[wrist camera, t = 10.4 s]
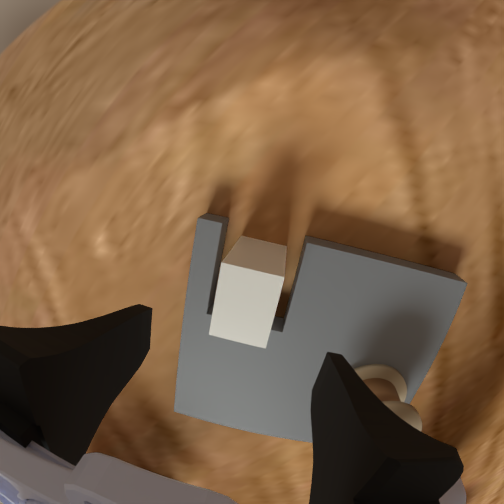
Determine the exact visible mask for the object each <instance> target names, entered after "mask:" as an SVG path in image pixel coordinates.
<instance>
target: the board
mask: <svg viewBox="0 0 504 504" xmlns="http://www.w3.org/2000/svg"><path fill="white" fill-rule="evenodd" d="M228 220H229V218H227V217H223V216H218V215H213V214H209V213H206V214H204V215H202V216H200V217H199V218H198V220H197V226H196V232H195V238H194V245H193V251H192V258H191V265H190V271H189V278H188V286H187V293H186V301H185V308H184V316H183V325H182V333H181V342H180V351H179V361H178V370H177V381H176V392H175V404H174V412H178V413H181V414H184V415H187V416H191V417H194V418H197V419H201V420H205V421H208V422H212V423H216V424H219V425H223V426H227V427H232V428H236V429H240V430H244V431H249V432H254V433H258V434H263V435H269V436H274V437H279V438H285V439H291V440H298V441H304V442H312V443H313V441H312V427H311V411H310V409H311V395H312V388H313V386H314V383H315V381H316V379H317V376H318V374H319V371H320V369H321V366H322V364H323V361H324V359H325V356H326V353H327V352H332V353H337V354H342V355H343V356H344V358H345V359H346V360H347V361H348V363H349V364H350V365H351V366H352V368H353V369H355V368H357V367H360V366H364V365H369V364H384V365H388V366H391V367H393V368H395V369H396V370H398V371H399V372H400V373H401V375H402V376H403V378H404V380H405V383H406V386H407V395H406V399H405V401H404V402H405V403H408V404H410V402H411V400H412V399H413V397H414V395H415V394H416V392H417V390H418V388H419V387H420V385H421V383H422V381H423V379H424V378H425V376H426V374H427V372H428V370H429V368H430V367H431V365H432V363H433V361H434V359H435V357H436V355H437V353H438V351H439V349H440V347H441V345H442V343H443V340H444V338H445V336H446V334H447V332H448V330H449V327H450V325H451V323H452V321H453V318H454V316H455V314H456V311H457V309H458V306H459V304H460V301H461V299H462V296H463V294H464V291H465V289H466V286H467V282H465V281H464V280H463V279H461V278H460V277H459V276H457V275H456V274H454V273H450V272H447V271H443V270H440V269H436V268H432V267H428V266H425V265H421V264H417V263H413V262H410V261H406V260H402V259H398V258H394V257H390V256H387V255H383V254H379V253H375V252H371V251H367V250H363V249H359V248H355V247H351V246H347V245H343V244H339V243H335V242H331V241H327V240H322V239H318V238H314V237H310V236H305V240H304V244H303V248H302V252H301V256H300V259H299V263H298V267H297V271H296V275H295V279H294V282H293V286H292V290H291V293H290V297H289V301H288V304H287V308H286V312H285V315H284V318H280V317H275V316H274V320H273V324H272V327H271V331H270V335H269V338H268V342H267V346H266V349H265V348H261V347H256V346H252V345H248V344H244V343H240V342H236V341H232V340H228V339H224V338H220V337H216V336H212V335H209V330H210V324H211V318H212V313H213V307H214V297H215V291H216V286H217V280H218V274H219V269H220V263H221V258H222V252H223V247H224V242H225V236H226V231H227V226H228Z"/></svg>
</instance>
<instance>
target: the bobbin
mask: <svg viewBox="0 0 504 504" xmlns="http://www.w3.org/2000/svg"><path fill="white" fill-rule="evenodd" d="M354 370H355V372H356V373H357V374H358V375H359V377H360V378H361V379H362V380H363V382H364V383H365V384H366V385H367V386H368V387H369V389H370V390H371V391H372V392H373V393H374V394H375V395H376V396H377V397H378V398H379V399H380V400H381V401H382V402H383V403H384V404H385V405H386V406H387V407H388V408H389V409H390V410H392V411H393V412H394V413H395V414H396V415H398V416H399V417H400V418H401V419H403V420H404V421H406V422H407V423H408V424H410V425H411V426H413V427H414V428H416V429H418V430H419V431H421V430H422V421H421V418H420V416H419V413H418V412H417V410H416V409H415V408H414V407H413V406H412V405H410V404H408V403H405V402H404V401H405V399H406V395H407V386H406V383H405V380H404V378H403V376H402V375H401V373H400V372H399V371H398V370H396V369H395V368H393V367H391V366H388V365H384V364H369V365H364V366H360V367H357V368H355V369H354Z"/></svg>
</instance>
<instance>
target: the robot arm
mask: <svg viewBox="0 0 504 504" xmlns="http://www.w3.org/2000/svg"><path fill="white" fill-rule="evenodd" d="M151 320H152V308H150V307H147V306H144V305H141V304H138V305H134V306H130V307H127V308H124V309H122V310H119V311H116V312H113V313H110V314H107V315H104V316H101V317H97V318H94V319H90V320H87V321H83V322H79V323H75V324H69V325H64V326H56V327H44V328H16V327H6V326H0V501H1V502H2V503H3V504H238V503H237V502H235V501H234V500H232V499H231V498H230V497H228V496H225V495H222V494H220V493H217V492H214V491H211V490H209V489H205V488H201V487H197V486H194V485H190V484H187V483H184V482H180V481H177V480H174V479H171V478H168V477H165V476H162V475H159V474H156V473H153V472H151V471H148V470H145V469H142V468H140V467H137V466H135V465H132V464H130V463H127V462H125V461H122V460H120V459H118V458H115V457H112V456H109V455H105V454H102V453H97V452H95V453H88V454H85V453H86V451H87V449H88V447H89V445H90V443H91V440H92V438H93V436H94V434H95V433H96V431H97V429H98V427H99V425H100V423H101V421H102V419H103V418H104V416H105V414H106V412H107V411H108V409H109V407H110V406H111V404H112V403H113V401H114V400H115V398H116V397H117V396H118V395H119V393H120V392H121V391H122V389H123V388H124V387H125V386H126V384H127V383H128V382H129V380H130V379H131V378H132V376H133V375H134V374H135V372H136V371H137V370H138V368H139V367H140V366H141V364H142V362H143V360H144V359H145V357H146V355H147V353H148V351H149V349H150V336H151ZM310 411H311V427H312V441H313V473H312V484H311V493H310V501H309V504H466V491H465V488H464V486H463V483H462V480H461V478H460V476H461V474H462V472H463V467H464V466H463V464H462V461H461V459H460V456H459V454H458V452H457V449H456V448H454V447H452V446H450V445H447V444H445V443H443V442H440V441H438V440H436V439H434V438H432V437H430V436H428V435H426V434H424V433H423V432H421V431H419V430H418V429H416V428H414V427H413V426H411V425H410V424H408V423H407V422H406V421H404V420H403V419H401V418H400V417H399V416H398V415H396V414H395V413H394V412H393V411H392V410H390V409H389V408H388V407H387V406H386V405H385V404H384V403H383V402H382V401H381V400H380V399H379V398H378V397H377V396H376V395H375V394H374V393H373V392H372V391H371V390H370V389H369V387H368V386H367V385H366V384H365V383H364V382H363V380H362V379H361V378H360V377H359V375H358V374H357V373H356V372H355V370H354V369H353V368H352V366H351V365H350V364H349V363H348V361H347V360H346V359H345V358H344V356H343V355H342V354H337V353H332V352H327V353H326V356H325V359H324V361H323V364H322V366H321V369H320V371H319V374H318V376H317V379H316V381H315V383H314V386H313V388H312V395H311V409H310Z"/></svg>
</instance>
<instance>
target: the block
mask: <svg viewBox="0 0 504 504" xmlns="http://www.w3.org/2000/svg"><path fill="white" fill-rule="evenodd" d="M286 252H287V246H284V245H280V244H276V243H272V242H267V241H263V240H259V239H254V238H250V237H246V236H241V237H240V238H239V239H238V241H237V242H236V243H235V245H234V246H233V247H232V249H231V250H230V252H229V253H228V254H227V256H226V257H225V258H224V260H223V261H222V262H221V267H220V273H219V278H218V284H217V290H216V295H215V301H214V307H213V313H212V318H211V324H210V330H209V335H212V336H216V337H220V338H224V339H228V340H232V341H236V342H240V343H244V344H248V345H252V346H256V347H261V348H265V349H266V346H267V342H268V338H269V335H270V331H271V327H272V324H273V320H274V316H275V312H276V309H277V305H278V301H279V297H280V293H281V289H282V286H283V282H284V278H285V266H286Z"/></svg>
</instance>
